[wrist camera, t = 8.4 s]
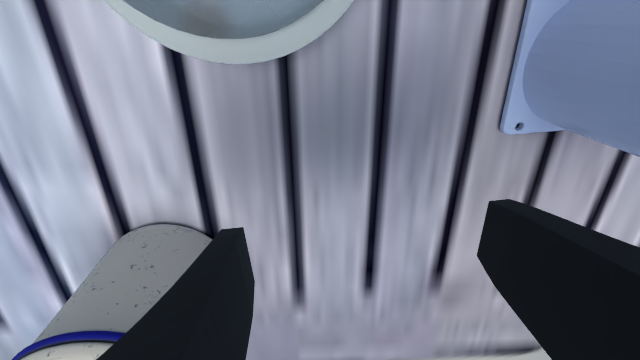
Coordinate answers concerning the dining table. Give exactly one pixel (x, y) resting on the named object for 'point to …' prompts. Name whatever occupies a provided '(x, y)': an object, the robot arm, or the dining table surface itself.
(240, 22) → the lid
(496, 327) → the dining table surface
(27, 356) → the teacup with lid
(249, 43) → the pot
